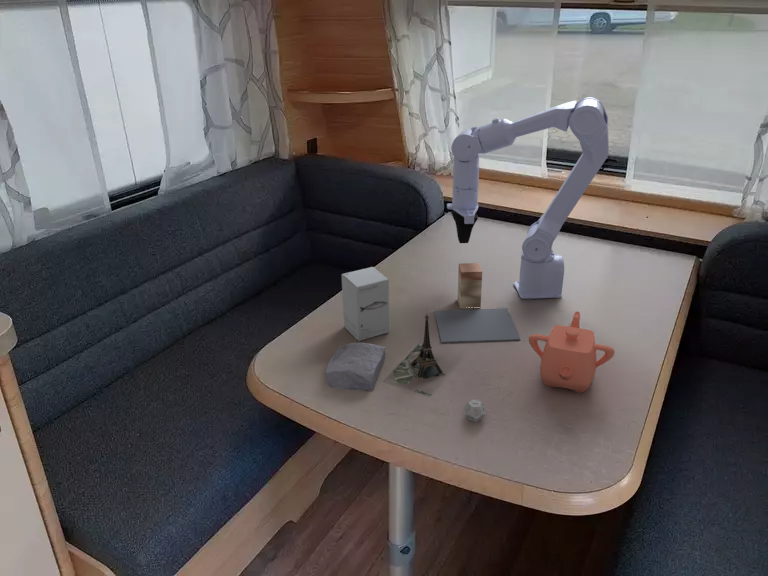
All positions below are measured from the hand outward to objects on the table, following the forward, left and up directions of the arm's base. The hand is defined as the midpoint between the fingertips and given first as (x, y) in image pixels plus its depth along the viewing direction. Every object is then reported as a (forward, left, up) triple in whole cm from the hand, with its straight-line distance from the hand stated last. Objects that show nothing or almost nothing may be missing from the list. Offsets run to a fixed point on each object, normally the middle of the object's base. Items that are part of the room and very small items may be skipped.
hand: (463, 242), depth 146 cm
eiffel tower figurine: (+12, +36, -11) cm, 40 cm away
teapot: (-13, +41, -11) cm, 44 cm away
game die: (+5, +51, -11) cm, 52 cm away
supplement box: (+23, +21, -11) cm, 33 cm away
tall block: (0, +11, -10) cm, 15 cm away
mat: (0, +21, -10) cm, 23 cm away
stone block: (+25, +36, -11) cm, 45 cm away
